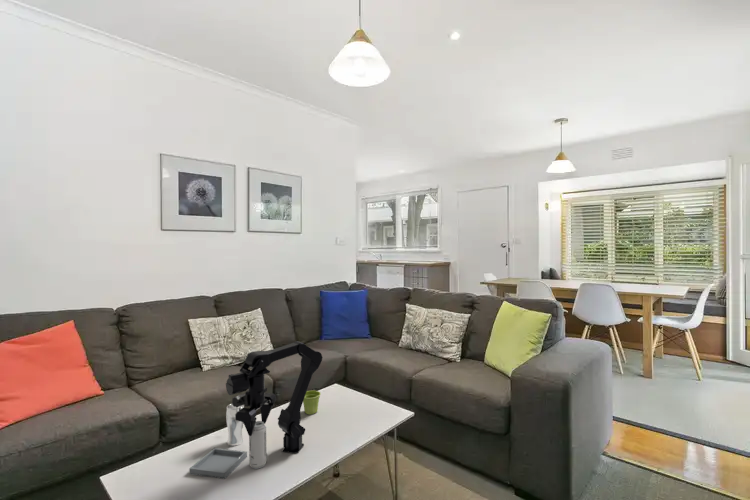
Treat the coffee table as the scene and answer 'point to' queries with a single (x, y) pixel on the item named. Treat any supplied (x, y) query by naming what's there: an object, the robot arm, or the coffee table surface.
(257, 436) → the energy drink can
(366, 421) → the coffee table surface
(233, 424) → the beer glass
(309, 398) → the plant pot
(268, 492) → the coffee table surface
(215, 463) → the blue-gray tray
